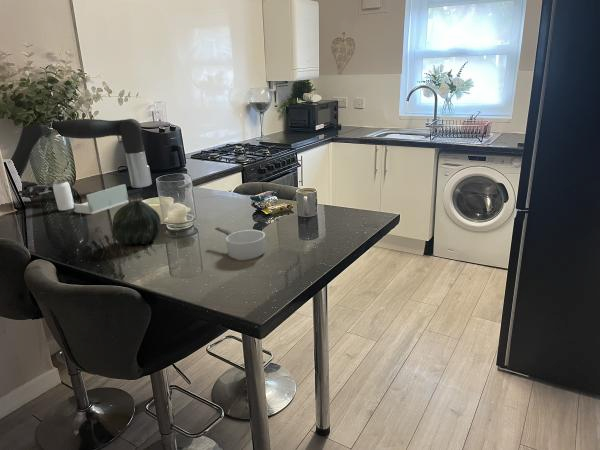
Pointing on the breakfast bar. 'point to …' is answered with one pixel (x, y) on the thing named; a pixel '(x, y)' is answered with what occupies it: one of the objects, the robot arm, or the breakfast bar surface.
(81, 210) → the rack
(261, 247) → the saucepan
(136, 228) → the squash
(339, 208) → the breakfast bar surface
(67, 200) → the can
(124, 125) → the robot arm
